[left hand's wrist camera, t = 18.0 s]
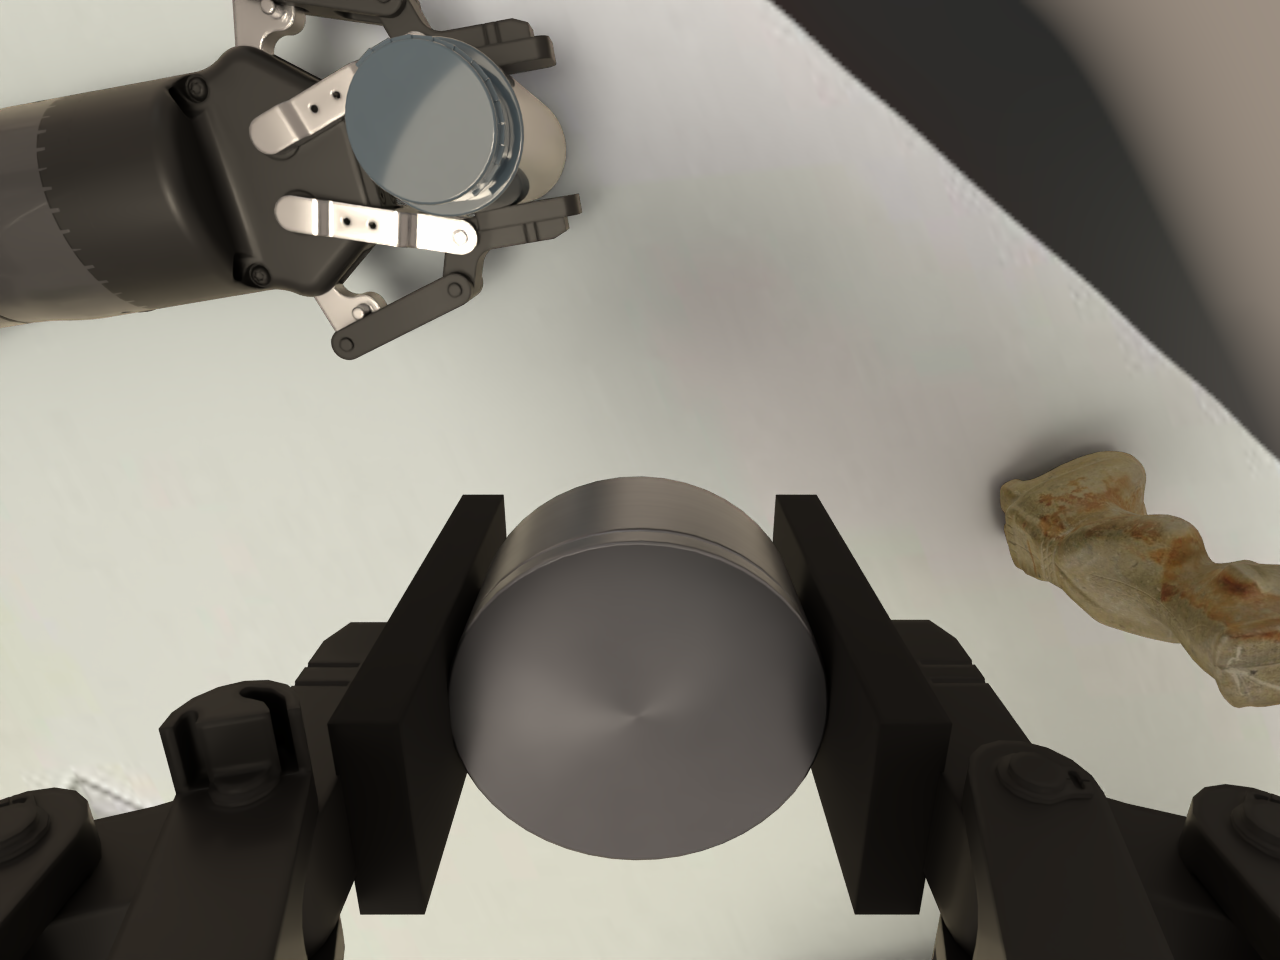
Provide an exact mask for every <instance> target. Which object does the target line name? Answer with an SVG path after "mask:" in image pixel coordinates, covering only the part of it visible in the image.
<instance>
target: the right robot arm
mask: <svg viewBox="0 0 1280 960" xmlns="http://www.w3.org/2000/svg"><path fill="white" fill-rule="evenodd" d="M233 14H234V30H235V45H236V47H233V48H230V49H229V50H227V51H226V52H224V53H223V54H222V55H221V57H220V58H219V59H218V60H217V61H216V62H215V63H214V64H212V65H211V66H210V67H208V68H206V69H204V70H202V71H198V72H194V73H189V74H183V75H178V76H173V77H168V78H162V79H157V80H152V81H146V82H141V83H136V84H130V85H125V86H119V87H114V88H109V89H103V90H98V91H92V92H86V93H81V94H75V95H70V96H65V97H59V98H54V99H49V100H43V101H38V102H33V103H28V104H22V105H17V106H11V107H6V108H2V109H0V328H4V327H10V326H16V325H22V324H28V323H34V322H44V321H58V320H91V319H99V318H107V317H112V316H118V315H124V314H130V313H136V312H148V311H152V310H155V309H160V308H165V307H171V306H177V305H183V304H189V303H195V302H201V301H207V300H213V299H219V298H225V297H231V296H237V295H243V294H249V293H254V292H260V291H266V290H273V289H280V290H287V291H291V292H294V293H297V294H299V295H302V296H307V297H314V298H315V299H316V301H317V302H318V304H319V306H320V307H321V309H322V311H323V312H324V314H325V315H326V317H327V319H328V320H329V322H330V323H331V325H332V327H333V328H334V330H335V331H336V332H335V333H334V335H333V336H332V339H331V345H332V348H333V350H334V352H335V353H336V354H337V355H338V356H339V357H341V358H343V359H346V360H353V359H356V358H358V357H360V356H362V355H364V354H366V353H368V352H370V351H372V350H374V349H376V348H378V347H380V346H382V345H384V344H386V343H388V342H390V341H392V340H394V339H396V338H398V337H400V336H402V335H404V334H406V333H408V332H410V331H412V330H414V329H416V328H418V327H420V326H422V325H424V324H426V323H428V322H430V321H432V320H434V319H436V318H438V317H440V316H442V315H444V314H446V313H448V312H450V311H452V310H454V309H456V308H458V307H460V306H462V305H464V304H465V303H467V302H468V301H469V300H471V299H472V298H473V297H475V296H476V295H478V294H479V293H480V291H481V290H482V287H483V279H482V270H483V262H484V258H485V256H486V254H487V253H488V251H490V250H491V249H495V248H501V247H507V246H513V245H519V244H525V243H531V242H537V241H543V240H549V239H554V238H556V237H557V236H559V235H560V234H562V233H564V232H565V231H567V230H568V229H569V224H568V218H567V216H572V215H577V214H580V213H582V209H581V203H580V198H579V194H573V195H567V196H561V197H556V198H550V199H544V200H538V201H532V202H526V203H520V204H515V205H510V206H506V207H502V208H497V209H493V210H488V211H483V212H479V213H475V217H470V216H457V217H441V216H435V215H430V214H427V213H424V212H421V211H419V210H416V209H414V208H412V207H410V206H406V205H399V204H397V201H396V197H394V196H393V195H391V194H389V193H388V192H386V191H385V190H383V189H382V188H381V187H379V186H378V185H377V184H376V183H375V182H374V181H373V180H372V179H371V178H370V177H369V176H368V175H367V173H366V172H365V171H364V170H363V168H362V167H361V165H360V163H359V162H358V160H357V158H356V156H355V154H354V152H353V150H352V148H351V145H350V142H349V139H348V135H347V130H346V123H345V103H346V96H347V92H348V88H349V85H350V83H351V80H352V78H353V76H354V74H355V72H356V70H357V69H358V67H357V66H356V65H355V64H356V63H357V62H358V60H357V61H354V62H351V63H349V64H347V65H346V66H344V67H342V68H341V69H339V70H337V71H336V72H334V73H332V74H331V75H329V76H328V77H326V78H324V79H323V80H322V79H320V78H318V77H316V76H314V75H312V74H310V73H308V72H306V71H305V70H303V69H301V68H299V67H297V66H295V65H293V64H291V63H289V62H287V61H286V60H284V59H282V58H280V57H278V56H276V55H274V48H275V45H276V43H277V41H278V40H279V39H280V38H282V37H284V36H290V35H296V34H298V33H300V32H301V31H302V30H303V28H304V26H305V22H306V15H311V16H318V17H325V18H332V19H339V20H346V21H353V22H360V23H367V24H374V25H381V26H384V28H385V30H386V32H387V33H388V35H389V37H390V38H394V37H398V36H402V35H407V34H412V35H424V36H441V37H447V38H453V39H456V40H459V41H462V42H464V43H466V44H468V45H471V46H473V47H474V48H476V49H478V50H479V51H481V52H482V53H484V54H485V55H486V56H487V57H488V58H490V59H491V60H492V61H493V62H494V63H496V64H497V65H498V66H499V67H500V68H502V69H503V70H504V71H505V72H506V73H507V74H509V75H510V74H515V73H521V72H526V71H532V70H537V69H543V68H548V67H552V66H554V65H556V60H555V54H554V49H553V43H552V41H551V39H550V38H549V36H545V35H541V36H534V32H533V29H532V28H531V26H530V25H529V23H528V22H525V21H521V20H517V19H513V18H511V19H506V20H500V21H496V22H490V23H485V24H479V25H474V26H468V27H463V28H458V29H452V30H447V31H436V30H433V29H432V28H431V27H430V25H429V23H428V22H427V20H426V18H425V16H424V15H423V13H422V11H421V6H420V3H419V1H418V0H233ZM376 244H383V245H389V246H396V247H411V248H420V249H427V250H433V251H440V252H445V259H444V270H443V277H442V278H440V279H438V280H436V281H434V282H432V283H430V284H428V285H426V286H424V287H422V288H420V289H418V290H416V291H414V292H412V293H410V294H408V295H406V296H405V297H403V298H401V299H399V300H397V301H395V302H393V303H391V304H389V305H387V303H386V302H385V300H384V299H383V297H382V296H380V295H379V294H377V293H375V292H365V293H362V294H356V293H352V292H350V291H349V290H347V289H346V288H345V287H344V285H343V283H344V282H345V281H346V279H347V278H348V277H349V276H350V275H351V273H352V272H353V271H354V270H355V269H356V267H357V266H358V265H359V264H360V263H361V261H362V260H363V259H364V258H365V257H366V255H367V254H368V253H369V252H370V251H371V249H372V248H373V247H374V246H375V245H376Z"/></svg>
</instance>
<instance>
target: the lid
mask: <svg viewBox="0 0 1280 960" xmlns="http://www.w3.org/2000/svg"><path fill="white" fill-rule="evenodd" d="M448 700H449V710H450V720H451V729H452V737H453V742H454V745H455V748H456V751H457V753H458V755H459V758H460V760H461V762H462V764H463V766H464V768H465V770H466V771H467V773H468V774H469V776H470V777H471V779H472V780H473V782H474V783H475V785H476V786H477V788H478V789H479V790H480V791H481V792H482V793H483V794H484V796H485V797H486V798H487V799H488V800H489V801H490V802H491V803H492V804H493V805H494V806H495V807H496V808H497V809H498V810H500V811H501V812H502V813H503V814H504V815H505V816H507V817H508V818H509V819H510V820H512V821H513V822H515V823H516V824H518V825H519V826H521V827H522V828H524V829H525V830H527V831H529V832H531V833H532V834H534V835H536V836H538V837H540V838H542V839H544V840H546V841H548V842H551V843H553V844H556V845H559V846H561V847H564V848H566V849H569V850H573V851H577V852H580V853H584V854H588V855H593V856H599V857H605V858H611V859H625V860H652V859H663V858H671V857H678V856H683V855H687V854H691V853H695V852H700V851H703V850H706V849H709V848H712V847H714V846H717V845H720V844H723V843H725V842H727V841H729V840H731V839H733V838H735V837H737V836H740V835H742V834H744V833H745V832H747V831H748V830H750V829H752V828H753V827H755V826H756V825H758V824H760V823H761V822H763V821H764V820H765V819H766V818H767V817H769V816H770V815H771V814H772V813H774V812H775V811H776V810H777V809H779V808H780V807H781V806H782V805H783V804H784V802H785V801H786V800H787V799H788V798H789V797H790V796H791V795H792V794H793V793H794V792H795V791H796V789H797V788H798V786H799V785H800V784H801V782H802V781H803V780H804V778H805V777H806V776H807V774H808V772H809V770H810V768H811V766H812V765H813V763H814V761H815V759H816V757H817V754H818V752H819V749H820V746H821V744H822V741H823V738H824V734H825V729H826V724H827V719H828V707H829V691H828V682H827V674H826V670H825V667H824V663H823V659H822V656H821V653H820V650H819V648H818V645H817V643H816V640H815V638H814V635H813V633H812V630H811V628H810V625H809V623H808V620H807V618H806V615H805V613H804V610H803V607H802V605H801V602H800V600H799V597H798V595H797V592H796V590H795V587H794V585H793V582H792V580H791V577H790V575H789V572H788V570H787V568H786V566H785V563H784V561H783V559H782V557H781V555H780V553H779V552H778V550H777V549H776V547H775V545H774V544H773V542H772V541H771V539H770V538H769V537H768V536H767V535H766V533H765V532H764V531H763V530H762V529H761V528H760V526H759V525H758V524H757V523H756V522H754V521H753V520H752V519H751V518H750V517H749V516H748V515H747V514H745V513H744V512H743V511H742V510H740V509H739V508H737V507H736V506H734V505H733V504H731V503H730V502H728V501H727V500H725V499H723V498H721V497H719V496H717V495H715V494H713V493H711V492H709V491H707V490H705V489H702V488H699V487H696V486H693V485H690V484H687V483H684V482H679V481H674V480H670V479H665V478H654V477H642V476H641V477H619V478H613V479H607V480H601V481H596V482H593V483H589V484H586V485H582V486H579V487H576V488H574V489H572V490H569V491H567V492H565V493H562V494H560V495H558V496H556V497H554V498H553V499H551V500H549V501H548V502H546V503H544V504H543V505H541V506H540V507H538V508H537V509H536V510H534V511H533V512H532V513H531V514H529V515H528V516H527V517H526V518H525V519H523V520H522V521H521V522H520V523H519V524H518V526H517V527H516V528H515V529H514V530H513V531H512V532H511V533H510V534H509V535H508V537H507V538H506V540H505V541H504V543H503V544H502V545H501V547H500V548H499V550H498V551H497V553H496V555H495V557H494V559H493V561H492V563H491V565H490V567H489V570H488V572H487V574H486V577H485V579H484V582H483V584H482V587H481V589H480V592H479V594H478V597H477V599H476V602H475V604H474V606H473V609H472V611H471V614H470V616H469V619H468V621H467V624H466V626H465V629H464V631H463V634H462V636H461V638H460V641H459V643H458V646H457V648H456V652H455V655H454V658H453V661H452V664H451V667H450V672H449V678H448Z"/></svg>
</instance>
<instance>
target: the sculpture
mask: <svg viewBox="0 0 1280 960" xmlns="http://www.w3.org/2000/svg"><path fill="white" fill-rule="evenodd" d="M1145 483H1146V474H1145V470H1144V468H1143V466H1142V464H1141V463H1140V462H1139V461H1138V460H1137V459H1136V458H1135V457H1133V456H1132V455H1130V454H1127V453H1123V452H1117V451H1104V452H1096V453H1092V454H1088V455H1085V456H1083V457H1080V458H1077V459H1074V460H1072V461H1070V462H1067V463H1065V464H1063V465H1060V466H1058V467H1057V468H1055V469H1053V470H1051V471H1049V472H1047V473H1045V474H1043V475H1041V476H1039V477H1037V478H1035V479H1031V480H1026V481H1022V480H1019V479H1013V480H1011V481H1008V482H1006V483H1005V484H1004V485H1002V487H1001V490H1000V504H1001V509H1002V510H1003V512H1004V513H1005V521H1006V524H1005V525H1004V532H1005V536H1006V539H1007V543H1008V546H1009V550H1010V554H1011V557H1012V560H1013V562H1014V564H1015V566H1016V567H1018V568H1020V569H1022V570H1023V571H1024V572H1025V573H1026V574H1027V575H1030V576H1032V577H1034V578H1036V579H1039V580H1042V581H1048V582H1050V583H1052V584H1054V585H1056V586H1058V587H1059V588H1061V589H1063V591H1064V592H1065V593H1066V594H1067V595H1068V596H1069V597H1070V598H1071V599H1072V600H1073V601H1074V602H1075V603H1077V604H1078V605H1079V606H1080V607H1081V608H1082V609H1083V610H1084V611H1085V612H1087V613H1088V614H1089V615H1090V616H1091V617H1092V618H1094V619H1095V620H1096V621H1098V622H1100V623H1102V624H1104V625H1107V626H1109V627H1113V628H1116V629H1119V630H1122V631H1126V632H1129V633H1132V634H1136V635H1140V636H1143V637H1147V638H1151V639H1156V640H1160V641H1165V642H1171V643H1181V644H1182V646H1183V647H1184V648H1185V650H1186V651H1187V652H1188V654H1189V655H1190V656H1191V658H1192V659H1193V660H1194V661H1195V662H1196V663H1197V664H1198V665H1199V666H1200V667H1201V668H1202V669H1203V670H1204V671H1205V672H1206V673H1208V674H1209V675H1210V676H1212V677H1213V678H1214V679H1215V680H1216V682H1217V685H1218V687H1219V690H1220V692H1221V694H1222V695H1223V697H1224V698H1225V699H1226V700H1227V701H1228V702H1229V703H1230V704H1231V705H1232V706H1234V707H1237V708H1241V707H1247V706H1254V707H1266V706H1272V705H1278V704H1280V565H1271V564H1258V563H1256V562H1253V561H1250V560H1241V561H1236V562H1231V563H1222V564H1219V563H1214V562H1212V561H1211V559H1210V558H1209V557H1208V555H1207V552H1206V550H1205V547H1204V543H1203V540H1202V537H1201V536H1200V534H1199V532H1198V530H1197V529H1196V528H1195V527H1194V526H1193V525H1192V524H1190V523H1189V522H1187V521H1185V520H1183V519H1181V518H1178V517H1175V516H1171V515H1162V514H1158V515H1147V512H1146V508H1145V504H1144V502H1143V500H1144V490H1145Z"/></svg>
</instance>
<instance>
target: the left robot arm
mask: <svg viewBox="0 0 1280 960" xmlns="http://www.w3.org/2000/svg"><path fill="white" fill-rule="evenodd" d="M505 540H506V523H505V508H504V495H463V496H462V497H461V499H460V501H459V502H458V504H457V506H456V507H455V509H454V511H453V512H452V514H451V516H450V517H449V519H448V521H447V522H446V524H445V526H444V528H443V529H442V531H441V533H440V534H439V536H438V538H437V539H436V541H435V543H434V544H433V546H432V548H431V549H430V551H429V553H428V554H427V556H426V558H425V560H424V561H423V563H422V565H421V566H420V568H419V570H418V571H417V573H416V575H415V576H414V578H413V580H412V581H411V583H410V585H409V586H408V588H407V590H406V592H405V593H404V595H403V597H402V598H401V600H400V602H399V603H398V605H397V607H396V608H395V610H394V612H393V613H392V615H391V617H390V618H389V620H388V622H351V623H349V624H348V625H346V626H345V627H343V628H342V629H340V630H339V631H338V632H336V633H335V634H333V635H332V636H330V637H329V638H327V639H326V640H325V641H323V643H322V644H321V646H320V647H319V648H318V650H317V651H316V653H315V654H314V655H313V657H312V658H311V660H310V661H309V662H308V667H305V668H304V669H303V671H302V672H301V674H300V675H299V676H298V678H297V679H296V681H295V686H291V687H289V686H288V685H287V684H283V683H279V682H274V681H270V680H257V681H242V682H238V683H234V684H229V685H225V686H221V687H217V688H215V689H213V690H211V691H208V692H206V693H204V694H201V695H199V696H197V697H194V698H192V699H191V700H189V701H188V702H187V703H185V704H184V705H182V706H181V707H179V708H178V709H176V710H175V711H173V712H172V713H171V714H170V716H169V717H168V718H167V719H166V720H165V722H164V723H163V724H162V725H161V727H160V728H159V732H160V736H161V740H162V743H163V747H164V751H165V754H166V758H167V762H168V766H169V769H170V773H171V777H172V780H173V784H174V788H175V791H176V796H175V798H174V800H173V801H171V802H168V803H164V804H161V805H158V806H154V807H150V808H145V809H141V810H136V811H132V812H128V813H123V814H119V815H114V816H110V817H105V818H101V819H97V820H94V819H93V816H92V813H91V810H90V807H89V804H88V801H87V800H86V799H85V798H84V797H83V796H81V795H80V794H79V793H78V792H77V791H74V790H68V789H61V788H48V789H41V790H33V791H27V792H24V793H21V794H18V795H14V796H12V797H8V798H5V799H2V800H0V960H343V959H344V950H345V944H344V937H343V929H342V924H341V919H340V913H341V911H342V908H343V906H344V904H345V901H346V899H347V896H348V894H349V892H350V889H351V887H352V884H353V882H354V881H355V887H356V893H357V898H358V904H359V910H360V915H373V914H425V911H426V908H427V905H428V901H429V898H430V895H431V891H432V888H433V885H434V881H435V878H436V875H437V871H438V868H439V865H440V861H441V858H442V855H443V851H444V848H445V845H446V841H447V838H448V835H449V831H450V828H451V825H452V821H453V818H454V815H455V811H456V808H457V805H458V801H459V798H460V795H461V791H462V788H463V785H464V781H465V778H466V775H467V771H466V770H465V768H464V766H463V764H462V762H461V760H460V758H459V755H458V753H457V751H456V748H455V745H454V742H453V737H452V729H451V720H450V710H449V700H448V678H449V672H450V667H451V664H452V661H453V658H454V655H455V652H456V648H457V646H458V643H459V641H460V638H461V636H462V634H463V631H464V629H465V626H466V624H467V621H468V619H469V616H470V614H471V611H472V609H473V606H474V604H475V602H476V599H477V597H478V594H479V592H480V589H481V587H482V584H483V582H484V579H485V577H486V574H487V572H488V570H489V567H490V565H491V563H492V561H493V559H494V557H495V555H496V553H497V551H498V550H499V548H500V547H501V545H502V544H503V543H504V541H505ZM773 544H774V545H775V547H776V549H777V550H778V552H779V553H780V555H781V557H782V559H783V561H784V563H785V566H786V568H787V570H788V572H789V575H790V577H791V580H792V582H793V585H794V587H795V590H796V592H797V595H798V597H799V600H800V602H801V605H802V607H803V610H804V613H805V615H806V618H807V620H808V623H809V625H810V628H811V630H812V633H813V635H814V638H815V640H816V643H817V645H818V648H819V650H820V653H821V656H822V659H823V663H824V667H825V670H826V674H827V682H828V691H829V707H828V719H827V724H826V729H825V734H824V738H823V741H822V744H821V746H820V749H819V752H818V754H817V757H816V759H815V761H814V763H813V765H812V766H811V770H812V773H813V776H814V780H815V783H816V786H817V790H818V793H819V796H820V800H821V803H822V806H823V810H824V813H825V816H826V820H827V823H828V826H829V830H830V833H831V836H832V840H833V843H834V846H835V850H836V853H837V856H838V860H839V863H840V866H841V870H842V873H843V876H844V880H845V883H846V886H847V890H848V893H849V896H850V900H851V903H852V906H853V910H854V913H855V914H919V913H920V907H921V901H922V895H923V890H924V884H925V878H926V879H927V882H928V884H929V887H930V889H931V891H932V894H933V896H934V899H935V901H936V903H937V906H938V908H939V910H940V919H939V924H938V929H937V935H936V940H935V945H934V951H933V956H932V960H1280V796H1277V795H1274V794H1270V793H1268V792H1265V791H1261V790H1258V789H1255V788H1250V787H1243V786H1236V785H1228V784H1223V785H1217V786H1210V787H1204V788H1203V789H1202V790H1201V791H1200V792H1199V793H1197V794H1196V795H1195V796H1194V797H1193V799H1192V802H1191V805H1190V808H1189V811H1188V814H1187V817H1185V816H1180V815H1176V814H1171V813H1167V812H1163V811H1158V810H1154V809H1149V808H1145V807H1140V806H1136V805H1131V804H1127V803H1123V802H1120V801H1116V800H1113V799H1110V798H1106V797H1105V794H1104V792H1103V791H1102V789H1101V788H1100V787H1099V785H1098V784H1097V782H1096V781H1095V779H1094V778H1093V777H1092V775H1090V774H1089V773H1088V772H1087V771H1085V770H1084V769H1083V768H1082V767H1080V766H1079V765H1078V764H1077V763H1075V762H1074V761H1073V760H1071V759H1069V758H1067V757H1065V756H1063V755H1061V754H1059V753H1057V752H1055V751H1053V750H1051V749H1049V748H1046V747H1042V746H1039V745H1035V744H1031V742H1030V741H1029V739H1028V738H1027V737H1026V735H1025V734H1024V732H1023V731H1022V730H1021V728H1020V727H1019V726H1018V724H1017V723H1016V721H1015V720H1014V719H1013V717H1012V716H1011V714H1010V713H1009V712H1008V710H1007V709H1006V707H1005V706H1004V705H1003V703H1002V702H1001V700H1000V699H999V698H998V696H997V695H996V693H995V692H994V691H993V689H992V688H991V686H990V685H989V684H988V683H985V678H984V677H983V675H982V674H981V672H980V671H979V670H978V668H977V667H976V666H975V665H972V660H971V659H970V657H969V656H968V654H967V653H966V652H965V650H964V649H963V647H962V646H961V645H960V643H959V642H958V640H957V639H956V638H955V637H953V636H952V635H950V634H949V633H947V632H946V631H944V630H943V629H942V628H940V627H939V626H937V625H936V624H934V623H933V622H931V621H930V620H891V619H890V618H889V616H888V614H887V613H886V611H885V609H884V608H883V606H882V604H881V602H880V601H879V599H878V597H877V596H876V594H875V592H874V591H873V589H872V587H871V586H870V584H869V582H868V581H867V579H866V577H865V576H864V574H863V572H862V570H861V569H860V567H859V565H858V564H857V562H856V560H855V559H854V557H853V555H852V554H851V552H850V550H849V549H848V547H847V545H846V544H845V542H844V540H843V538H842V537H841V535H840V533H839V532H838V530H837V528H836V527H835V525H834V523H833V522H832V520H831V518H830V517H829V515H828V513H827V512H826V510H825V508H824V506H823V505H822V503H821V501H820V500H819V498H818V496H817V495H776V501H775V516H774V531H773Z"/></svg>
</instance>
